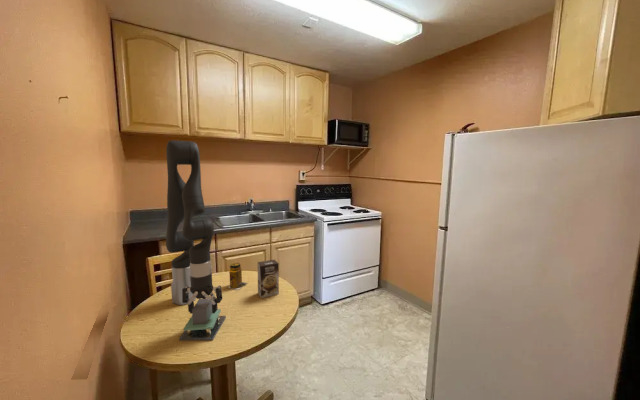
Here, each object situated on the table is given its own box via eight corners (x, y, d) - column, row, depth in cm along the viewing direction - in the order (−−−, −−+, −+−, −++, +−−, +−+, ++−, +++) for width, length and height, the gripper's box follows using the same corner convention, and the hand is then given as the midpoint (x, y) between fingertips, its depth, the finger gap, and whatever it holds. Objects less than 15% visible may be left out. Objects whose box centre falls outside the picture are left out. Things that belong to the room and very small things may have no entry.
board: (183, 330, 96) (182, 313, 95) (195, 312, 107) (194, 296, 106) (212, 328, 97) (211, 311, 96) (220, 310, 109) (219, 295, 108)
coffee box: (261, 298, 126) (260, 266, 124) (257, 292, 131) (256, 261, 129) (279, 294, 130) (278, 263, 128) (275, 288, 136) (274, 258, 133)
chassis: (179, 340, 95) (178, 331, 95) (196, 318, 109) (196, 310, 109) (212, 340, 96) (212, 331, 95) (225, 318, 110) (225, 310, 109)
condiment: (226, 287, 137) (225, 265, 135) (237, 281, 144) (236, 260, 143) (237, 290, 134) (236, 267, 132) (248, 283, 142) (247, 262, 140)
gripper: (176, 276, 96) (179, 318, 98) (216, 276, 96) (218, 317, 98) (186, 268, 103) (189, 307, 105) (223, 268, 103) (225, 307, 105)
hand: (203, 312), depth 102 cm, fingers open, 8 cm apart
